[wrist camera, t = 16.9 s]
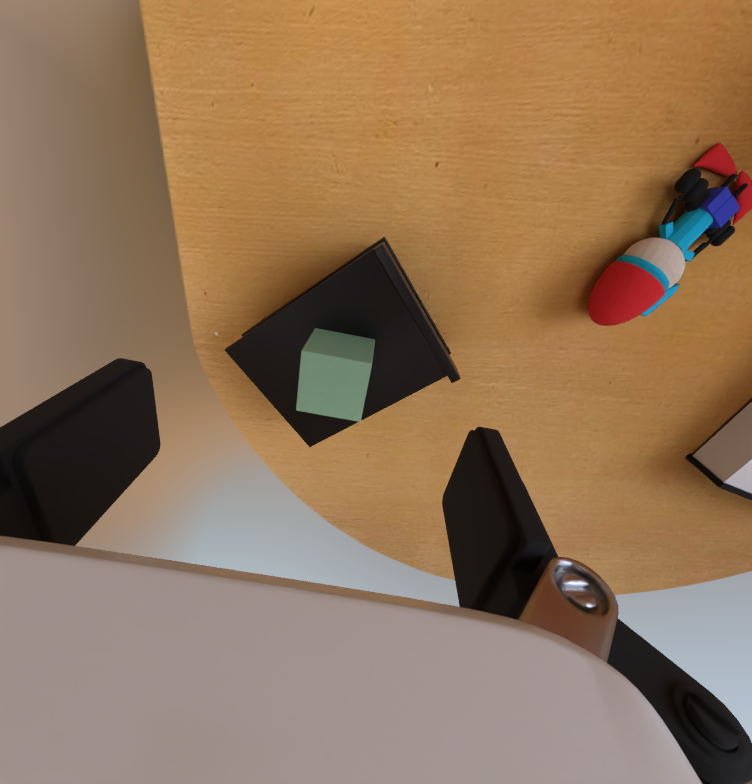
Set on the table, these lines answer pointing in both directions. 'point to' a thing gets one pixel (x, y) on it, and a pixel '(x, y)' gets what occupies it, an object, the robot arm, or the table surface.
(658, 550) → the table surface
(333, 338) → the cube
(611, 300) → the toy figure
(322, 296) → the plate
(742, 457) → the disc drive
